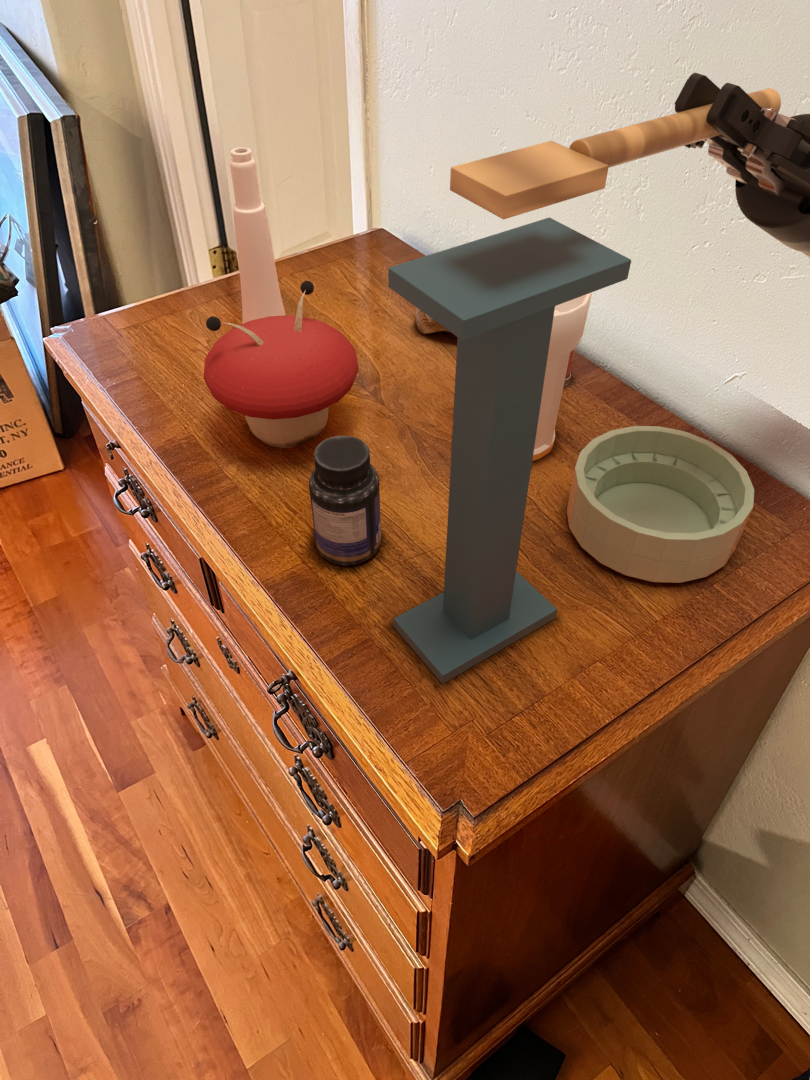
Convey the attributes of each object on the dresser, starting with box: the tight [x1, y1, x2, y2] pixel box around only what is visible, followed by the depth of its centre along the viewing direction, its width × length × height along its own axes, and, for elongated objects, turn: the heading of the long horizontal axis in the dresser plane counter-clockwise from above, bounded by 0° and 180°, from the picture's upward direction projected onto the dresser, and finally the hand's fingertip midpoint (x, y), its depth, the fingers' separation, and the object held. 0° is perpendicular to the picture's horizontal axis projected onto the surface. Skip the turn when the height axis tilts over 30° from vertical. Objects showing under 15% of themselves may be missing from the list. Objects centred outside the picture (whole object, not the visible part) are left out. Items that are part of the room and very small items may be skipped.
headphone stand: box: [387, 217, 632, 685], centre depth 56 cm, size 7×12×32 cm, turn 124°
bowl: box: [566, 425, 755, 584], centre depth 74 cm, size 16×16×6 cm
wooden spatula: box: [449, 87, 782, 220], centre depth 45 cm, size 23×4×2 cm, turn 124°
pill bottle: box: [308, 435, 382, 567], centre depth 70 cm, size 6×6×11 cm
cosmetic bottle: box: [229, 147, 286, 324], centre depth 93 cm, size 6×6×22 cm
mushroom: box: [203, 280, 359, 449], centre depth 81 cm, size 16×16×15 cm
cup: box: [532, 292, 593, 462], centre depth 79 cm, size 11×11×17 cm
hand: (704, 96), depth 46 cm, fingers closed on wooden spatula, 2 cm apart
